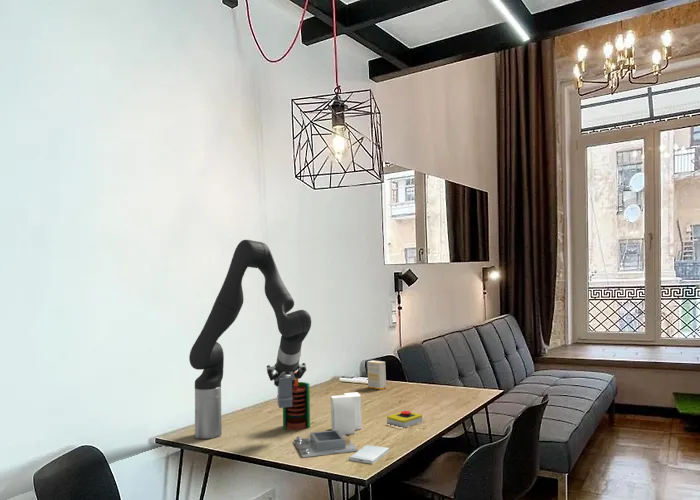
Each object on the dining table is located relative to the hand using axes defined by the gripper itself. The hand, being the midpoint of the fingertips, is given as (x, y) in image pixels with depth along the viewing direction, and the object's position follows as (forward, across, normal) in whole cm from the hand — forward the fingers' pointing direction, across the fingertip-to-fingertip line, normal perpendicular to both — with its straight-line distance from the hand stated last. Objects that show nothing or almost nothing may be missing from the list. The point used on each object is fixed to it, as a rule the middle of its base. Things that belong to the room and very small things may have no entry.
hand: (283, 383), depth 190 cm
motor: (+21, -6, +6) cm, 23 cm away
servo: (+4, 0, +6) cm, 8 cm away
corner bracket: (+14, -23, +12) cm, 30 cm away
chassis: (+2, -11, +24) cm, 26 cm away
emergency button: (+15, -46, +12) cm, 50 cm away
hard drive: (-6, -23, +33) cm, 41 cm away
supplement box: (+57, -55, -31) cm, 85 cm away
